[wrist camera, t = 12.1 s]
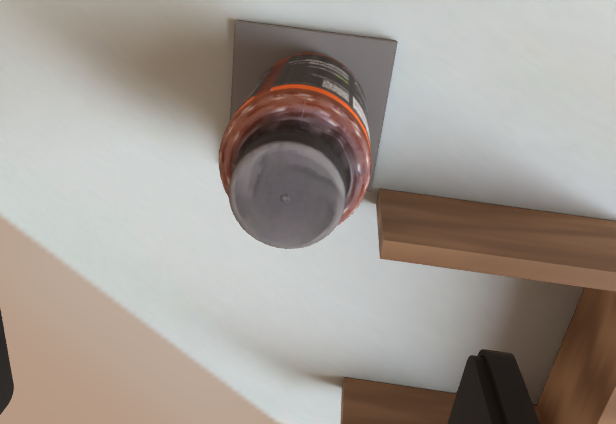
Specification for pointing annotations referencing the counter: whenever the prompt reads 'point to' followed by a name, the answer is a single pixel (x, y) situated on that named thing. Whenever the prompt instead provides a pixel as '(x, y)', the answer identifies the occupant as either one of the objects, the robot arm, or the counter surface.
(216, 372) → the counter surface
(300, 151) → the supplement bottle
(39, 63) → the counter surface
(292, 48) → the mat
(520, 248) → the angled wooden boards
